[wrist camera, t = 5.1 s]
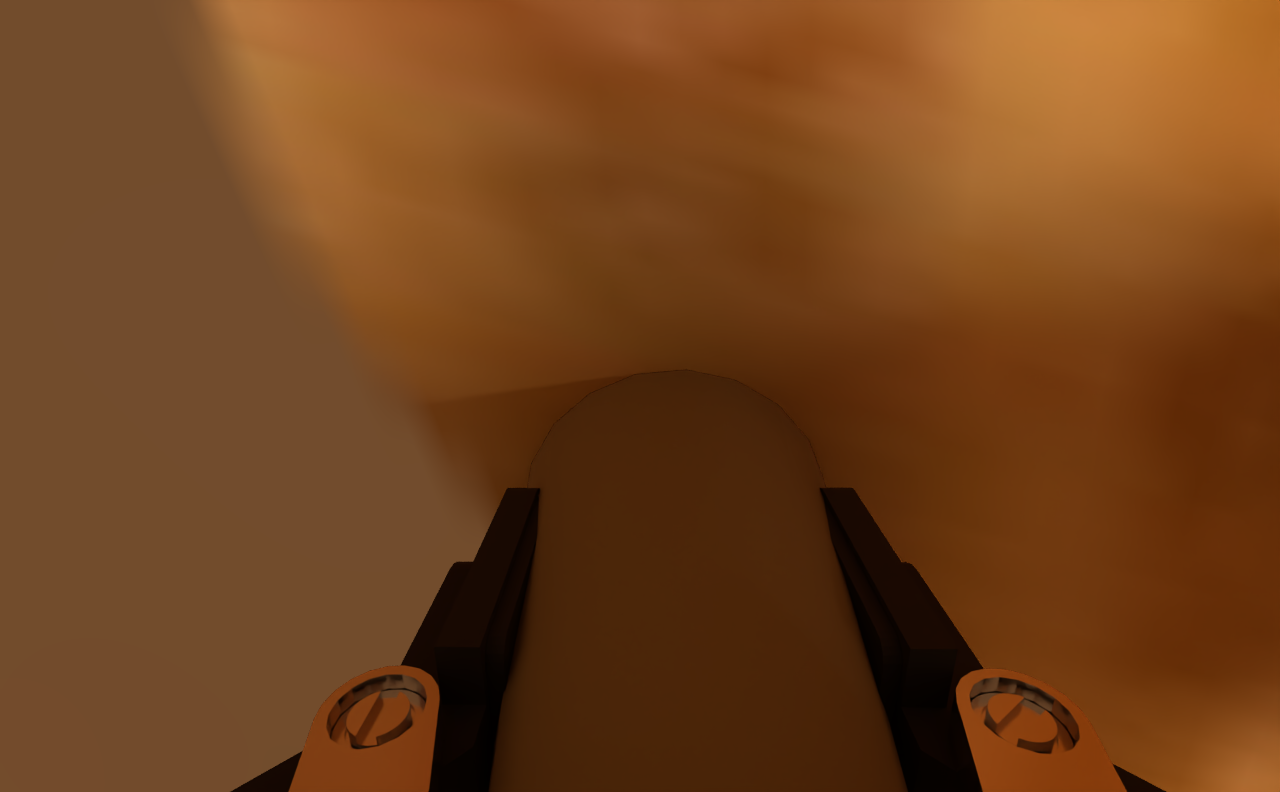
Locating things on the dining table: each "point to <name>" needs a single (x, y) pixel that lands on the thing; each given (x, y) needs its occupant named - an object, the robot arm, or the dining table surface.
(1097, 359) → the dining table surface
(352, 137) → the dining table surface
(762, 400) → the cork
